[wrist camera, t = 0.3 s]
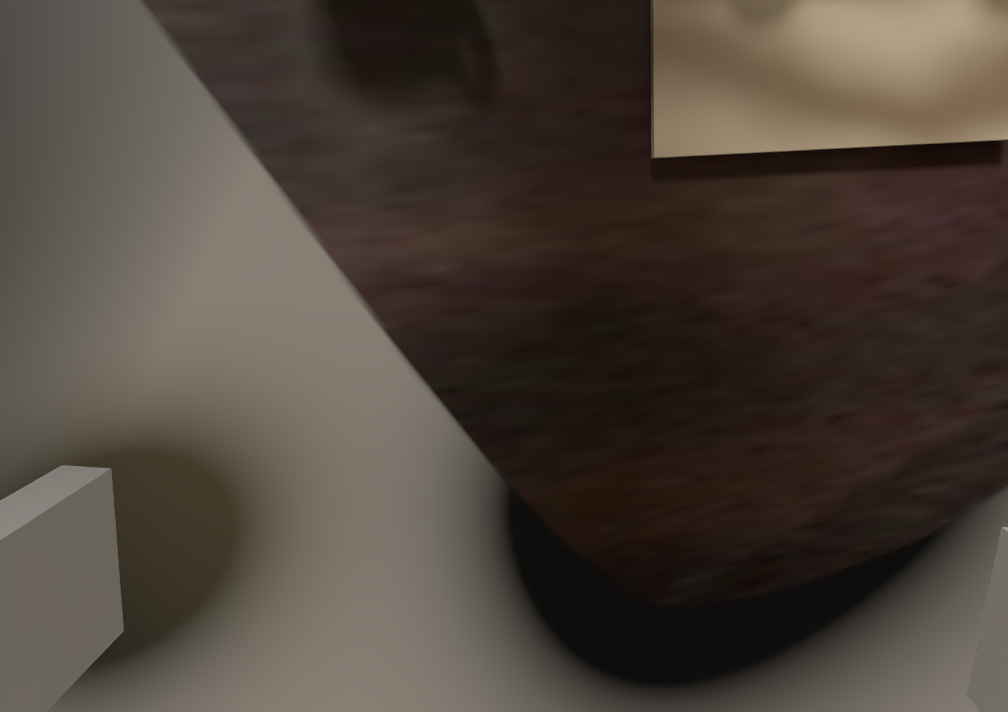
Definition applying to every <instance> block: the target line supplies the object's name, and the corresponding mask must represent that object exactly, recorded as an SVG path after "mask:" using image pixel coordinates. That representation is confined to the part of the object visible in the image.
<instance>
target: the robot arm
mask: <svg viewBox="0 0 1008 712" xmlns="http://www.w3.org/2000/svg"><path fill="white" fill-rule="evenodd" d="M113 500H114V499H113V487H112V474H111V469H110V468H95V467H80V466H64V465H63V466H60V467H58V468H57V469H55V470H53V471H51V472H50V473H48V474H46V475H44V476H43V477H41V478H39V479H37V480H36V481H34V482H32V483H31V484H29V485H27V486H25V487H24V488H22V489H20V490H19V491H17V492H15V493H13V494H11V495H10V496H8V497H6V498H4V499H3V500H1V501H0V712H46V711H47V710H48V709H49V708H50V707H51V706H52V705H53V704H54V703H55V702H56V701H57V700H58V699H59V698H60V697H61V695H63V694H64V692H65V691H66V690H67V689H68V688H69V687H70V686H71V685H72V684H73V683H74V682H75V681H76V680H77V679H78V678H79V677H80V676H81V675H82V674H83V673H84V672H85V671H86V670H87V668H88V667H89V666H90V665H91V664H92V663H93V662H94V661H95V660H96V659H97V658H98V657H99V656H100V655H101V654H102V653H103V652H104V651H105V650H106V649H107V648H108V646H109V645H110V644H111V643H112V642H113V641H114V640H115V639H116V638H117V637H118V636H119V635H120V634H121V633H122V632H123V630H124V629H123V616H122V605H121V591H120V577H119V564H118V552H117V538H116V525H115V513H114V501H113ZM967 696H968V697H969V698H970V700H971V701H972V702H973V703H974V704H975V706H976V707H977V708H978V709H979V711H980V712H1008V528H1007V527H1002V529H1001V534H1000V539H999V543H998V549H997V553H996V558H995V563H994V567H993V572H992V577H991V582H990V586H989V591H988V596H987V601H986V605H985V610H984V615H983V620H982V624H981V629H980V634H979V639H978V644H977V648H976V653H975V658H974V663H973V667H972V672H971V677H970V682H969V686H968V691H967Z"/></svg>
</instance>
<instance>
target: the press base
mask: <svg viewBox="0 0 1008 712" xmlns="http://www.w3.org/2000/svg"><path fill="white" fill-rule="evenodd" d="M650 29H651V158H668V157H687V156H707V155H726V154H746V153H765V152H785V151H804V150H824V149H843V148H863V147H882V146H902V145H921V144H941V143H960V142H980V141H999V140H1008V0H650Z"/></svg>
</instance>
